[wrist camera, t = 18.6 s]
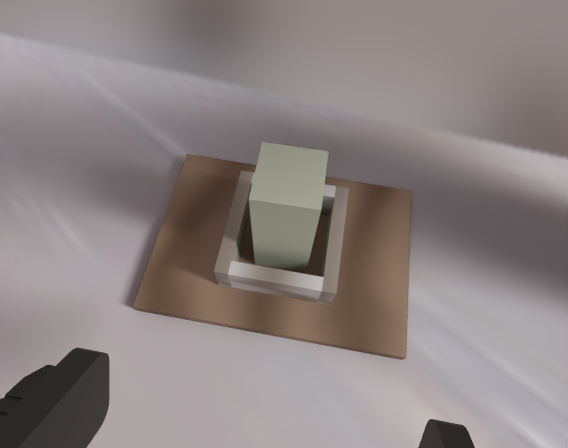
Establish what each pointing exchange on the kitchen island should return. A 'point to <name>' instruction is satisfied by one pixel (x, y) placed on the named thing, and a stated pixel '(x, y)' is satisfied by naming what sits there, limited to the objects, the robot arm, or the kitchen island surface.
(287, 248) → the post
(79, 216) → the kitchen island surface
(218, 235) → the board
